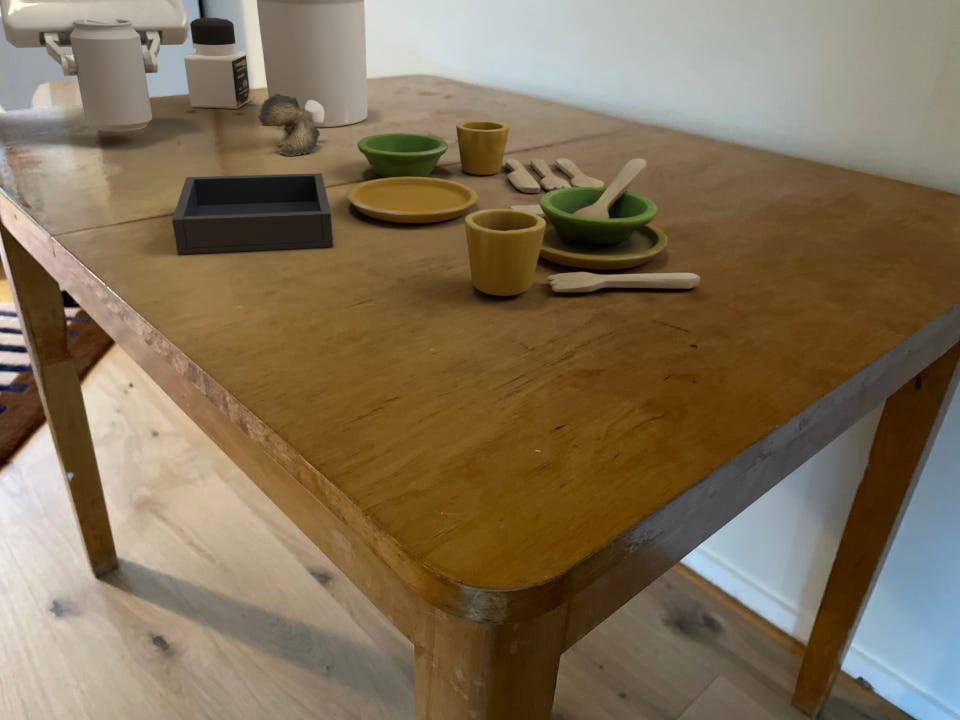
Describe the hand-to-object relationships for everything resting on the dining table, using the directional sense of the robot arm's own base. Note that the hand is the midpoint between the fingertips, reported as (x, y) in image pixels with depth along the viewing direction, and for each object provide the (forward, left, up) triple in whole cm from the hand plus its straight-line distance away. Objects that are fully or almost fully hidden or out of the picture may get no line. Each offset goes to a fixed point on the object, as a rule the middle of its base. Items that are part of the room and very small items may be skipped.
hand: (112, 71), depth 92 cm
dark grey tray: (+16, -33, -8) cm, 38 cm away
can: (0, +1, -7) cm, 7 cm away
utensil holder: (+24, +14, -9) cm, 29 cm away
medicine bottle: (+10, +25, -9) cm, 28 cm away
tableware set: (+38, -33, -9) cm, 51 cm away
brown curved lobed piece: (+20, -3, -9) cm, 22 cm away
